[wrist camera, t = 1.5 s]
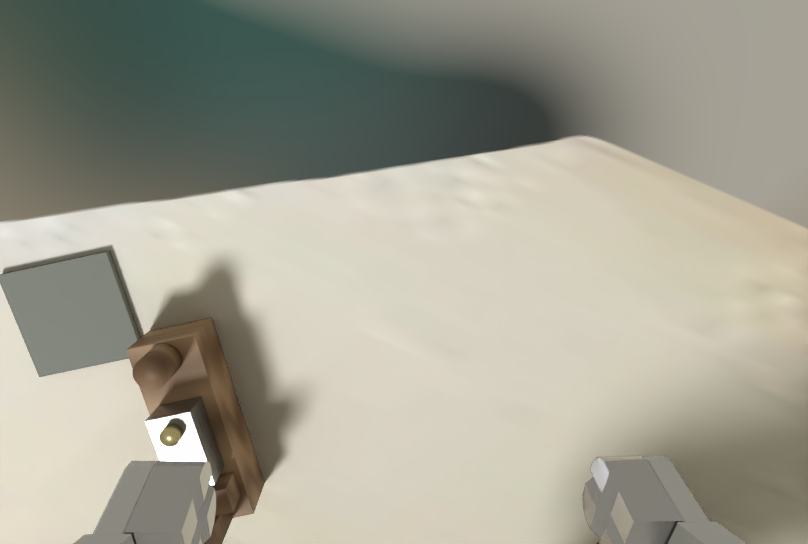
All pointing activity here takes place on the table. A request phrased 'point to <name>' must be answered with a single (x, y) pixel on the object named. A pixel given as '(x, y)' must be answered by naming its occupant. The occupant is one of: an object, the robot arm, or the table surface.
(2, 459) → the table surface
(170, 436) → the lever cap
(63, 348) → the felt mat
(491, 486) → the table surface
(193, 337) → the plane body
